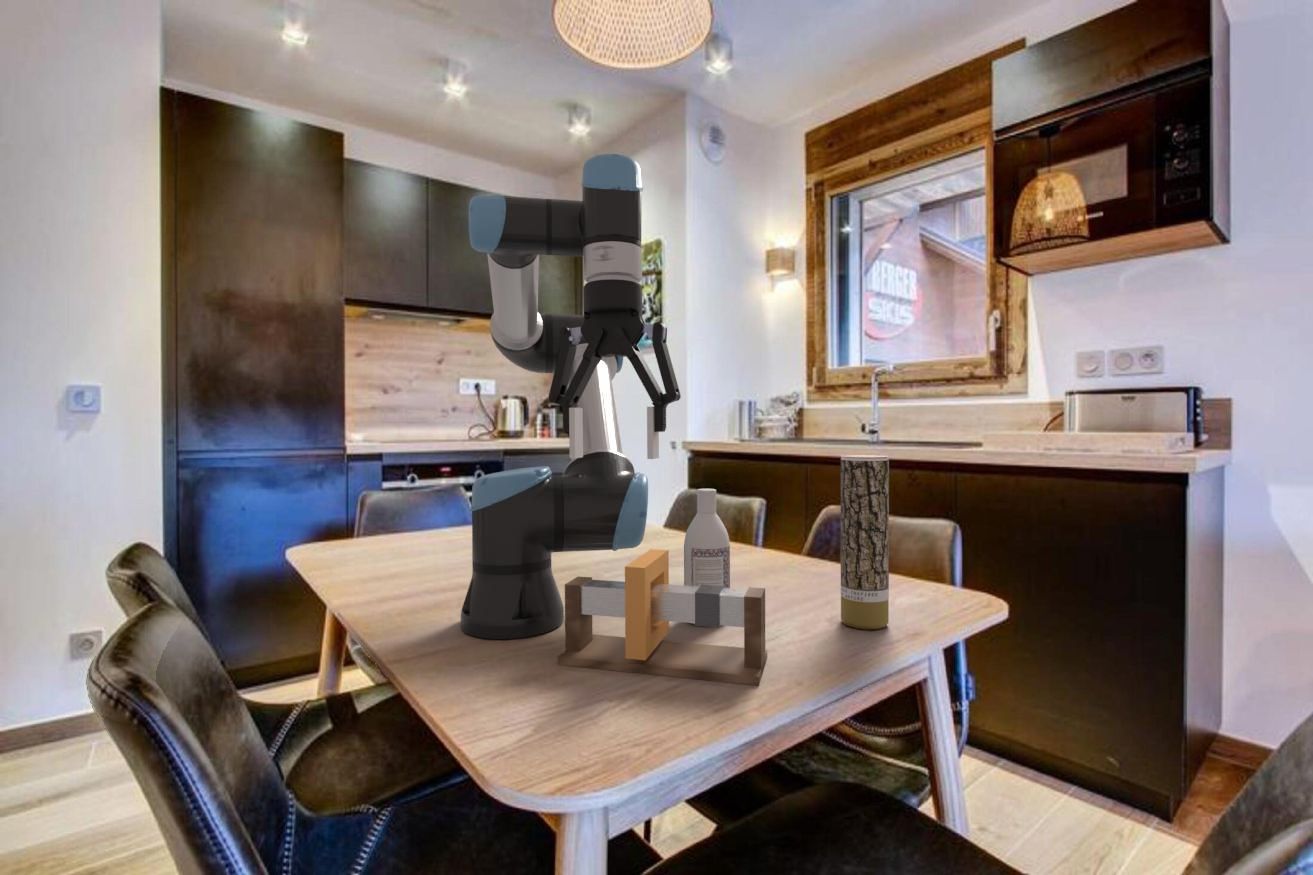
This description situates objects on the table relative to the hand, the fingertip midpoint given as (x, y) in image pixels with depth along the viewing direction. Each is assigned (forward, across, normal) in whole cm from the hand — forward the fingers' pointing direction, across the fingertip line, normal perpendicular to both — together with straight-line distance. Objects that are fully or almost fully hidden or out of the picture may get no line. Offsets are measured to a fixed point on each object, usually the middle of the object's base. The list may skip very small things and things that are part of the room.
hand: (614, 458), depth 82 cm
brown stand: (+26, +6, 0) cm, 26 cm away
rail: (+20, +6, 0) cm, 21 cm away
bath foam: (+26, +8, +18) cm, 33 cm away
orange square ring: (+24, +4, 0) cm, 24 cm away
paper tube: (+26, +32, +22) cm, 46 cm away
